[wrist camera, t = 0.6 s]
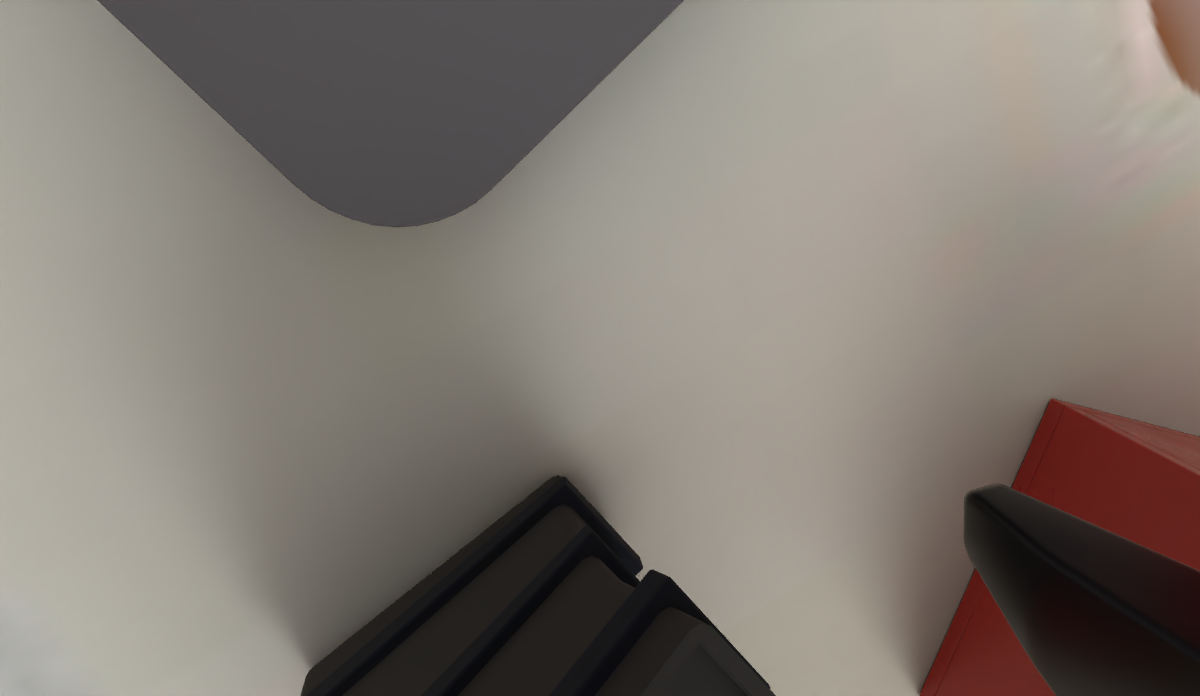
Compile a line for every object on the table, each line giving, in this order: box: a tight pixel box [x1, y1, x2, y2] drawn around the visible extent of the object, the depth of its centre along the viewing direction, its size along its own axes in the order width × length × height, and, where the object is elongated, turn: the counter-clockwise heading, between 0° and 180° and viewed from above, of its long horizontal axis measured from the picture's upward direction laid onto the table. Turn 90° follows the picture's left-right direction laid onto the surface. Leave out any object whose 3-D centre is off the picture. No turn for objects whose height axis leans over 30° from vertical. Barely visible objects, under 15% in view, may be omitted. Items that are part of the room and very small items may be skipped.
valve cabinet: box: [919, 399, 1200, 696], centre depth 25 cm, size 12×9×10 cm
